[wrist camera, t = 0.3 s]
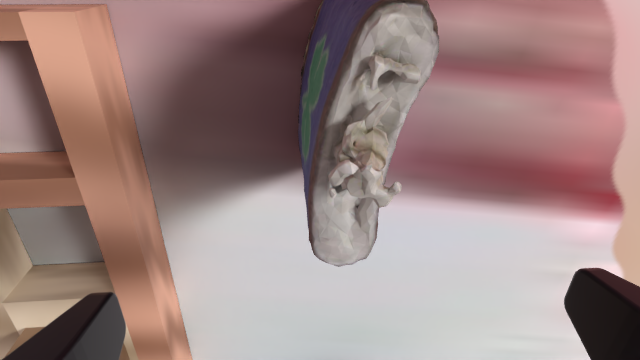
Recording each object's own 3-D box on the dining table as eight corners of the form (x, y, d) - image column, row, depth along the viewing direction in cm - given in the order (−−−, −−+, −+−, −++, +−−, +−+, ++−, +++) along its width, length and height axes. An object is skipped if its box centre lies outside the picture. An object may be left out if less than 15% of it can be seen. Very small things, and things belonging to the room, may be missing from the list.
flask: (338, 164, 22) (378, 312, 13) (287, 157, 22) (288, 305, 12) (381, -16, 18) (489, 7, 8) (317, -30, 17) (357, -22, 8)
